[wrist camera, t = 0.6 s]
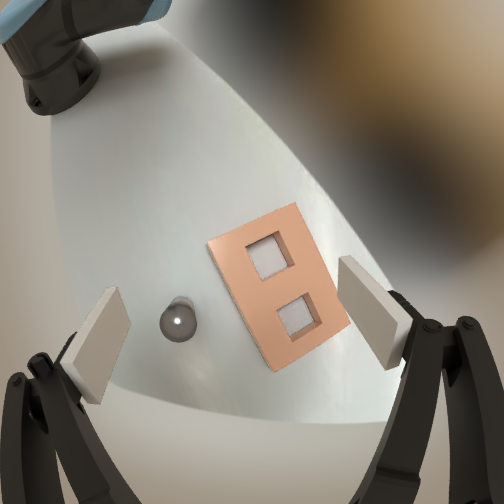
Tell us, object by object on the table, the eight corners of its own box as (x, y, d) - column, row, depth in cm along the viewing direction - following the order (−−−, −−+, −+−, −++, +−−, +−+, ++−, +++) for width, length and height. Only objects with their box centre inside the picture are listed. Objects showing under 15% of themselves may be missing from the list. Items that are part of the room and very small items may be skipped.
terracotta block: (205, 244, 36) (207, 242, 33) (288, 206, 39) (294, 201, 37) (268, 367, 36) (274, 372, 34) (342, 321, 39) (350, 323, 37)
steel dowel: (166, 302, 34) (153, 315, 20) (186, 292, 35) (185, 299, 21) (177, 323, 34) (170, 348, 20) (197, 313, 35) (203, 332, 21)
